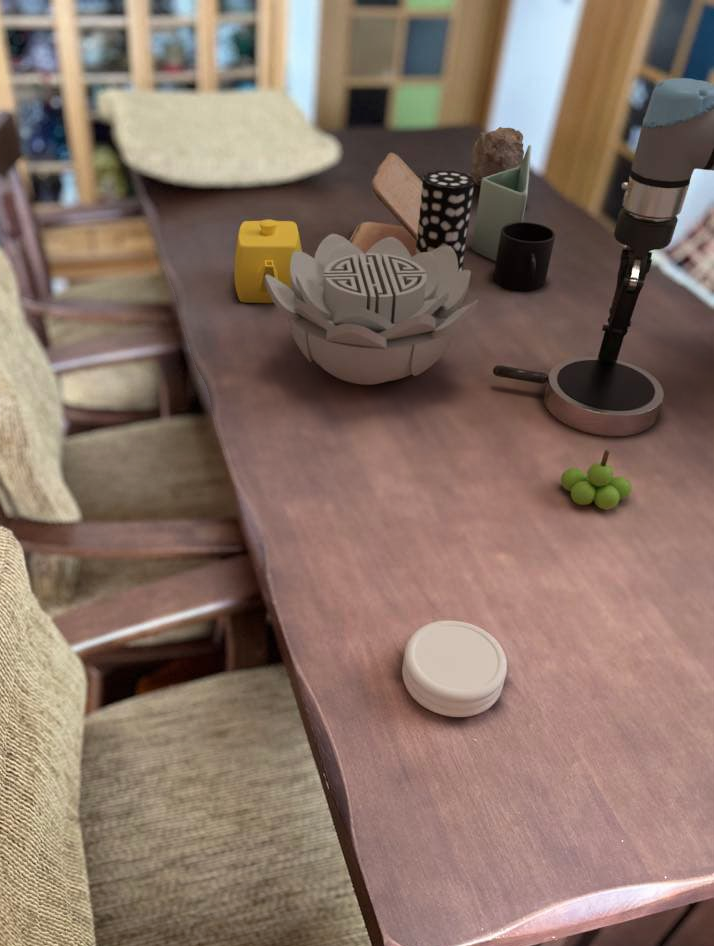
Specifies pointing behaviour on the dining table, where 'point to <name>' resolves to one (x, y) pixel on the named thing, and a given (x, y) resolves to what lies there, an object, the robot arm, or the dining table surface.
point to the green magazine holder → (500, 206)
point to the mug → (523, 255)
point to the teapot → (263, 257)
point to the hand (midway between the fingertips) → (604, 367)
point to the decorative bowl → (373, 307)
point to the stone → (496, 153)
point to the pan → (597, 394)
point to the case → (393, 206)
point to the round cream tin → (454, 668)
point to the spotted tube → (445, 212)
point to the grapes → (596, 485)
